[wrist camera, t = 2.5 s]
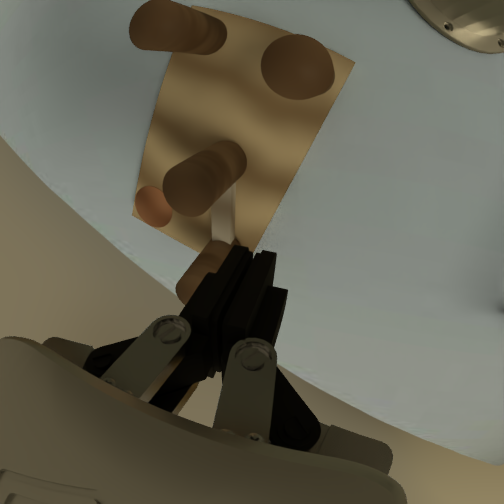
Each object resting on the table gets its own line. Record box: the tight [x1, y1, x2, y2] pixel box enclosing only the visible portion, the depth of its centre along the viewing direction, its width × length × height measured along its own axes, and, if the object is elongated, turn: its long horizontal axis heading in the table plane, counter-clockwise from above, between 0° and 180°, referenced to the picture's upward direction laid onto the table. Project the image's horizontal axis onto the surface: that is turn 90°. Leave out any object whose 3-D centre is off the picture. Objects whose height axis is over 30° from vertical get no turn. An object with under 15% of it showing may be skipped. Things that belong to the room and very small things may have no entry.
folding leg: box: [162, 141, 247, 305], centre depth 23 cm, size 13×4×7 cm, turn 177°
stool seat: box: [129, 0, 355, 253], centre depth 21 cm, size 23×14×10 cm, turn 157°
